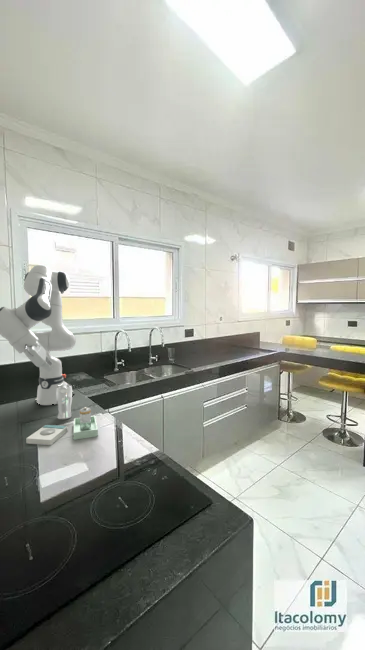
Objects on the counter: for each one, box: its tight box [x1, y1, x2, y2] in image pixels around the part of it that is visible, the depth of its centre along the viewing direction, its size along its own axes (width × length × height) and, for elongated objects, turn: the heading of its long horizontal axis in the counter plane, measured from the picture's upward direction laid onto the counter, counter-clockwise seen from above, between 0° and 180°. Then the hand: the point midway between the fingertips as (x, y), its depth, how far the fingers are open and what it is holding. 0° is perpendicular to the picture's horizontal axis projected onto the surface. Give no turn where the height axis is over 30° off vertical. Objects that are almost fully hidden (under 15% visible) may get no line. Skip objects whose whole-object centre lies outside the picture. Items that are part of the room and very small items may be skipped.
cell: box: [79, 406, 92, 431], centre depth 116 cm, size 4×4×10 cm
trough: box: [72, 415, 99, 441], centre depth 118 cm, size 15×9×3 cm, turn 21°
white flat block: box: [25, 424, 68, 446], centre depth 112 cm, size 12×10×2 cm
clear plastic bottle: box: [56, 383, 73, 421], centre depth 132 cm, size 7×7×15 cm
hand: (50, 367), depth 116 cm, fingers open, 8 cm apart
